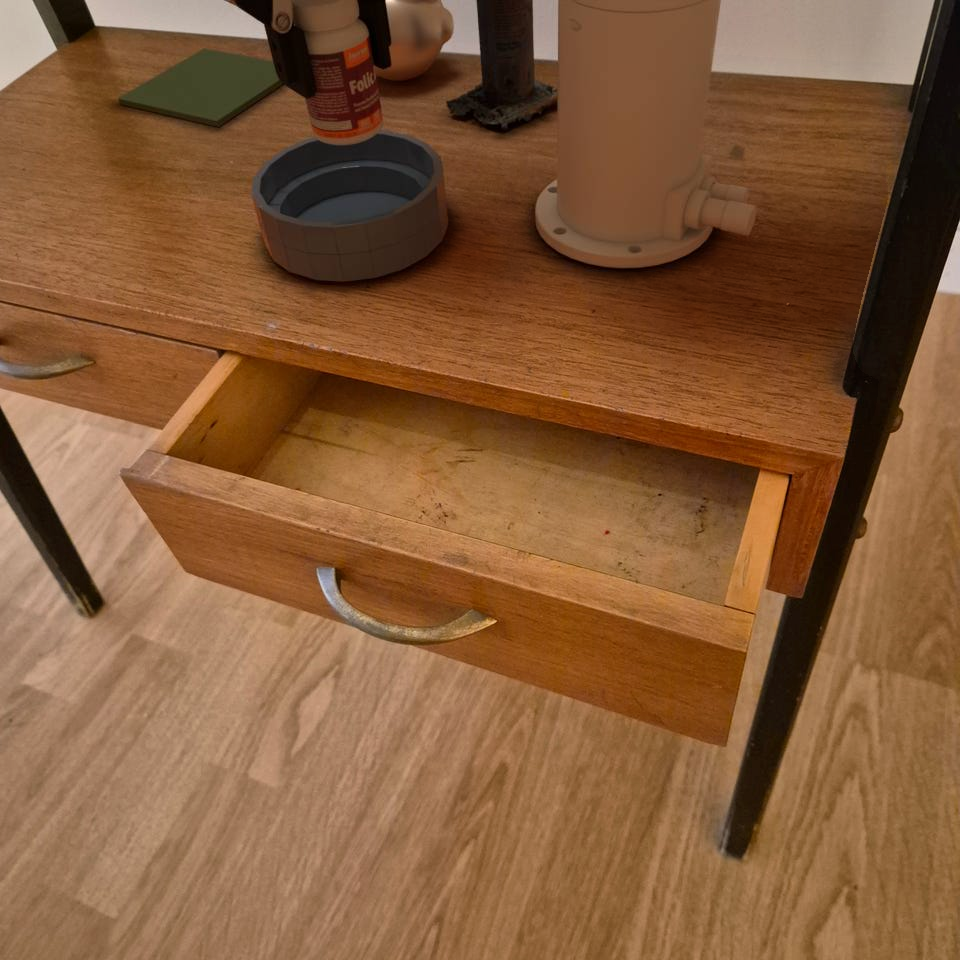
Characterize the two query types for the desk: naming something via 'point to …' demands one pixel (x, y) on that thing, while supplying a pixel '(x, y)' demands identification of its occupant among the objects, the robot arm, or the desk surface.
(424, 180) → the bowl
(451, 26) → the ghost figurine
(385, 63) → the robot arm
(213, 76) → the mat
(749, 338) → the desk surface
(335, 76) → the pill bottle
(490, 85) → the post on square base
